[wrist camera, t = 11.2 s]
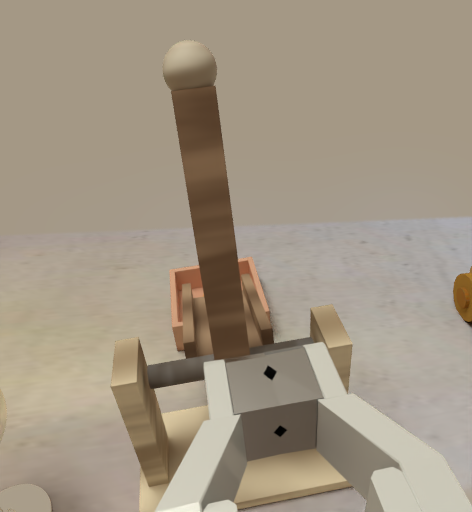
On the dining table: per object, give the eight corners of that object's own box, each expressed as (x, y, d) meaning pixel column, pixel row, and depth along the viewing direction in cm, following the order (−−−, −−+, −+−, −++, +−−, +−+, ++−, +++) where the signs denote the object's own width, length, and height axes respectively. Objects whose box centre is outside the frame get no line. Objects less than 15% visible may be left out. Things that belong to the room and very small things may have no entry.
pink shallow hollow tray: (270, 334, 48) (269, 310, 46) (177, 351, 47) (172, 327, 45) (253, 279, 56) (251, 256, 54) (174, 292, 55) (169, 269, 53)
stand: (362, 484, 34) (379, 371, 26) (141, 528, 33) (94, 423, 25) (325, 390, 41) (330, 282, 34) (144, 423, 40) (108, 318, 33)
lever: (320, 372, 30) (296, 23, 23) (150, 403, 29) (71, 49, 22) (278, 293, 43) (254, 53, 36) (159, 313, 42) (110, 71, 35)
